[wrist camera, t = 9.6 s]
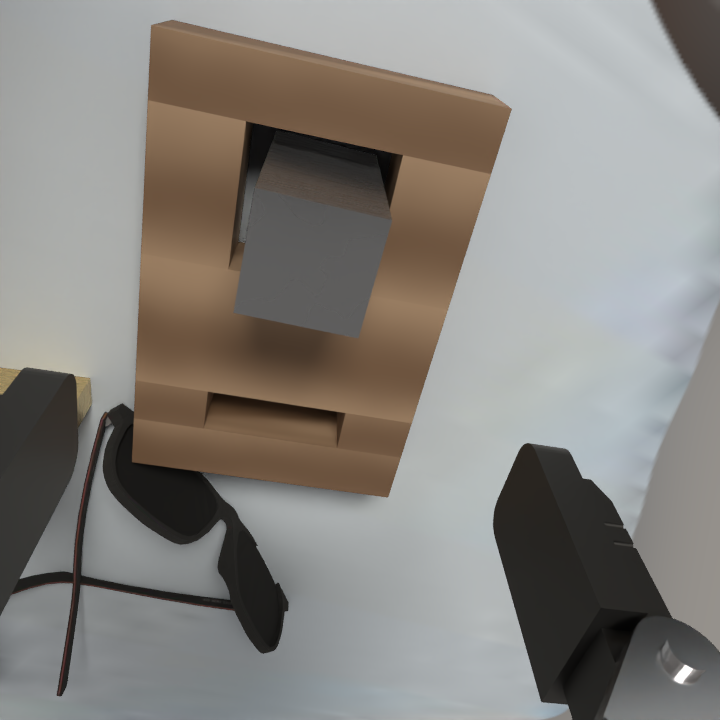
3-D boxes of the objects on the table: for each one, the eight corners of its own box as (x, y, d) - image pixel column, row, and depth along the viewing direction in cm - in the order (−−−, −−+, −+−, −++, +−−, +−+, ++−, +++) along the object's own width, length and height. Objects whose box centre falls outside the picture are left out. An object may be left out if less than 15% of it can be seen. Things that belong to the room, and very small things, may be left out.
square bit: (276, 129, 25) (254, 187, 18) (376, 155, 25) (392, 220, 18) (259, 226, 27) (233, 312, 20) (352, 248, 27) (358, 338, 20)
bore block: (171, 20, 22) (151, 25, 20) (492, 95, 24) (511, 108, 22) (148, 422, 31) (132, 462, 29) (383, 457, 33) (388, 497, 31)
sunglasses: (-84, 490, 34) (-145, 565, 29) (145, 387, 31) (115, 453, 27) (111, 661, 42) (86, 740, 37) (307, 592, 39) (304, 668, 35)
